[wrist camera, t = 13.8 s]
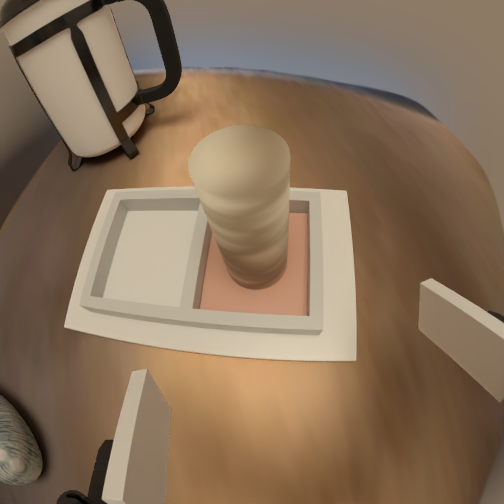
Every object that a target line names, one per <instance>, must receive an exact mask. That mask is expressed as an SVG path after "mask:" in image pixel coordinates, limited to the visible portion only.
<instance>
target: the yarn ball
mask: <svg viewBox="0 0 504 504" xmlns="http://www.w3.org/2000/svg"><path fill="white" fill-rule="evenodd" d="M42 466H43V461H42V456H41V452H40V449H39V447H38V445H37V442H36V440H35V438H34V436H33V434H32V432H31V430H30V429H29V427H28V426H27V424H26V423H25V421H24V420H23V418H22V417H21V416H20V415H19V413H18V412H17V411H16V409H15V408H14V407H13V406H12V405H11V404H10V403H9V402H8V401H7V400H6V399H5V398H4V397H3V396H2V395H0V482H2V483H5V484H11V485H19V486H21V485H28V484H30V483H32V482H33V481H35V480H36V479H37V478H38V477H39V475H40V473H41V470H42Z"/></svg>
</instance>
